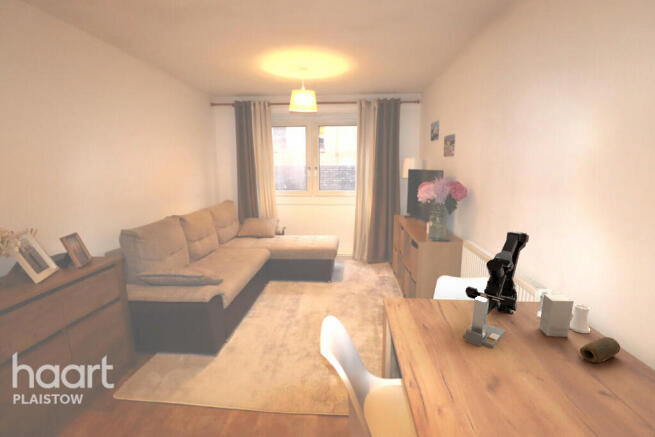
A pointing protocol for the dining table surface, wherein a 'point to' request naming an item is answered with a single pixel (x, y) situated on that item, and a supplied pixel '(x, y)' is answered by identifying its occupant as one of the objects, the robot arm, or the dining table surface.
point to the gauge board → (491, 332)
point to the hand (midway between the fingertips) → (484, 316)
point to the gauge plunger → (480, 316)
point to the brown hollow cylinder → (600, 349)
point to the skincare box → (556, 315)
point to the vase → (580, 319)
